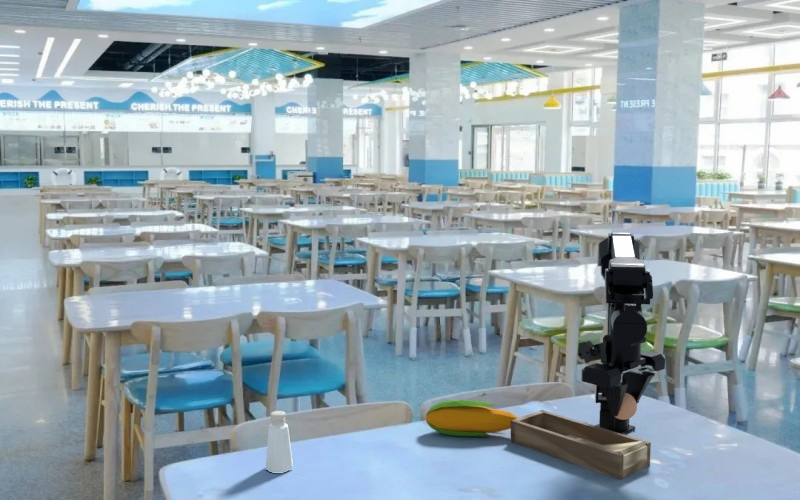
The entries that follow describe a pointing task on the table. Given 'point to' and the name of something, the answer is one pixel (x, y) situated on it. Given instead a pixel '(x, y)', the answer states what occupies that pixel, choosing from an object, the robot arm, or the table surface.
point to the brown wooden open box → (581, 443)
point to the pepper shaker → (278, 444)
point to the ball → (627, 407)
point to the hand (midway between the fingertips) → (622, 412)
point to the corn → (468, 418)
